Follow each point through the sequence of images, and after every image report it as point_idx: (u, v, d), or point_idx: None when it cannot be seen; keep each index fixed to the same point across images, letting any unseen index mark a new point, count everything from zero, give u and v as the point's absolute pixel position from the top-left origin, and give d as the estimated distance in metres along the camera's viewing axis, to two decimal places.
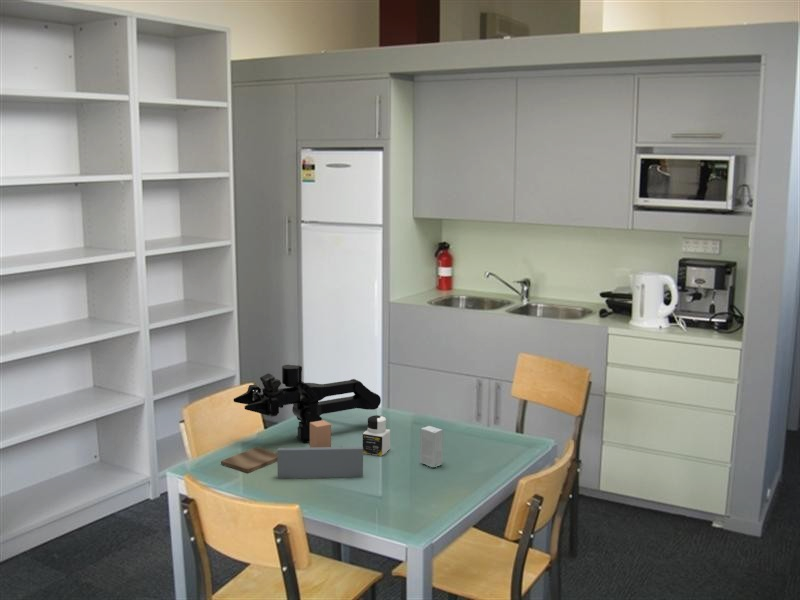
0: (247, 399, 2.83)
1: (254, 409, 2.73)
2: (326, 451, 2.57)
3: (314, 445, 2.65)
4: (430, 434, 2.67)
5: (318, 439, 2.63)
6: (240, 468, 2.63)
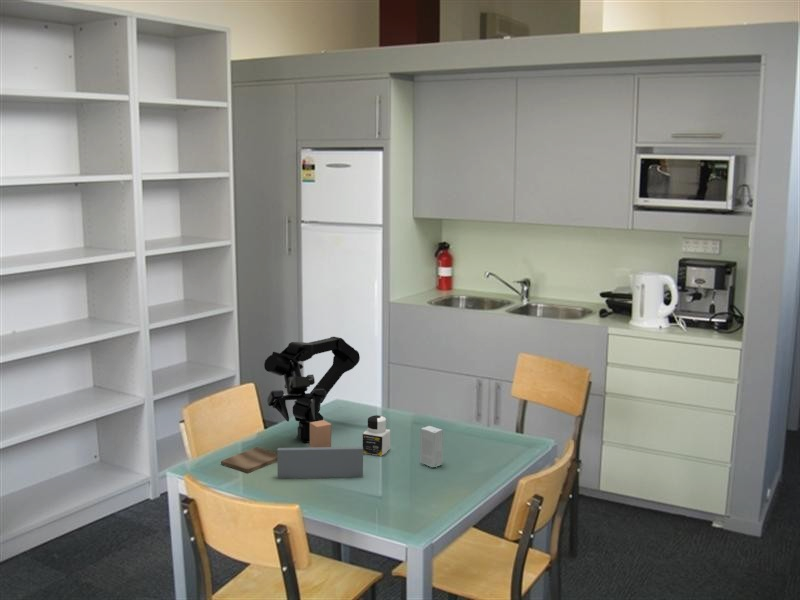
0: None
1: None
2: (326, 451, 2.57)
3: (314, 445, 2.65)
4: (430, 434, 2.67)
5: (318, 439, 2.63)
6: (240, 468, 2.63)
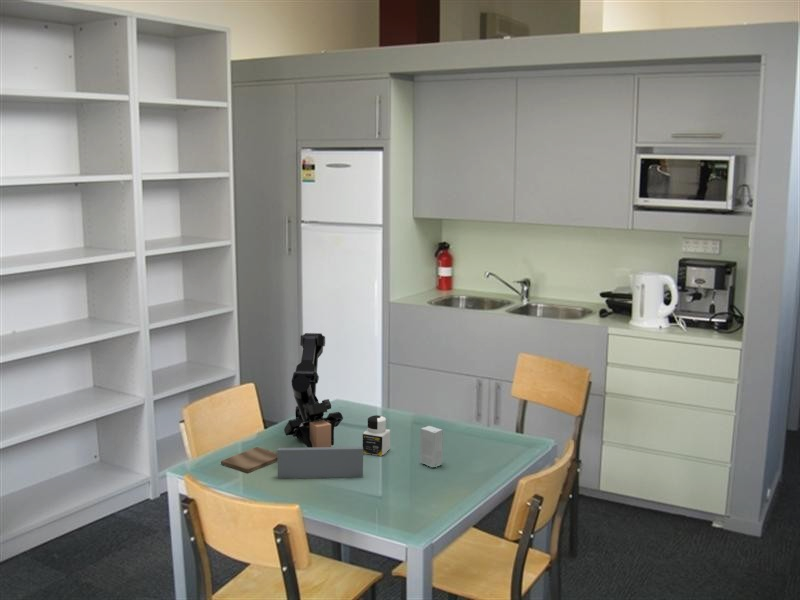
0: None
1: None
2: (326, 451, 2.57)
3: (314, 445, 2.65)
4: (430, 434, 2.67)
5: (318, 439, 2.63)
6: (240, 468, 2.63)
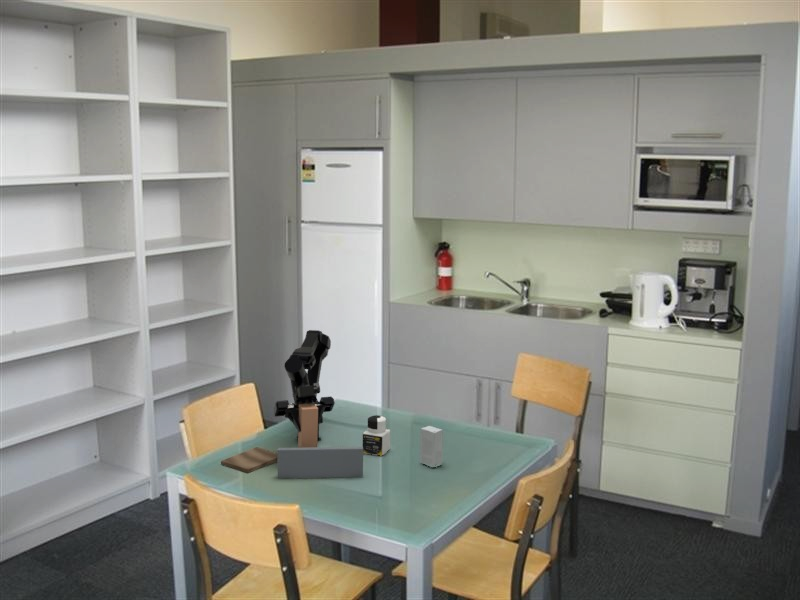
0: None
1: None
2: (326, 451, 2.57)
3: (300, 427, 2.64)
4: (430, 434, 2.67)
5: (304, 421, 2.62)
6: (240, 468, 2.63)
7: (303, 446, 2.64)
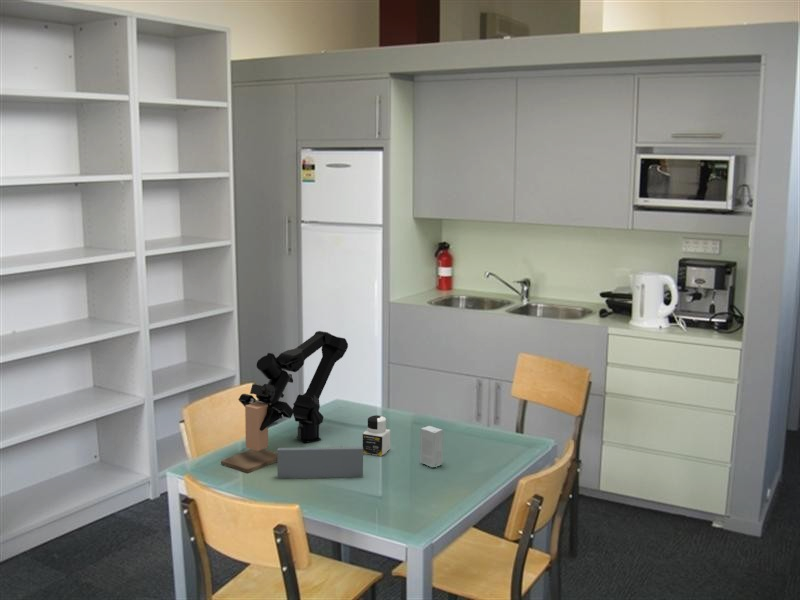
0: None
1: (268, 423, 2.67)
2: (326, 451, 2.57)
3: None
4: (430, 434, 2.67)
5: (246, 418, 2.66)
6: (240, 468, 2.63)
7: (247, 442, 2.68)
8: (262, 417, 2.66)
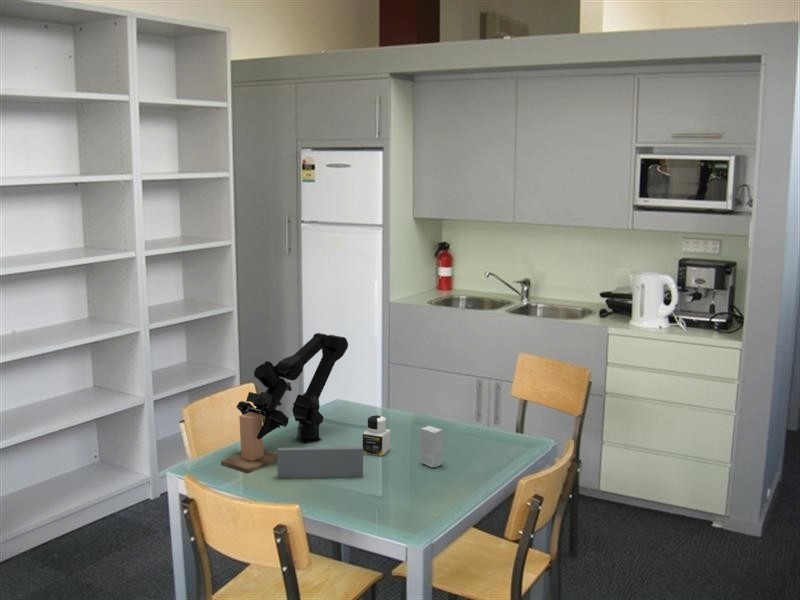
0: None
1: (266, 432, 2.68)
2: (326, 451, 2.57)
3: None
4: (430, 434, 2.67)
5: (241, 428, 2.68)
6: (240, 468, 2.63)
7: (242, 452, 2.70)
8: (256, 427, 2.68)
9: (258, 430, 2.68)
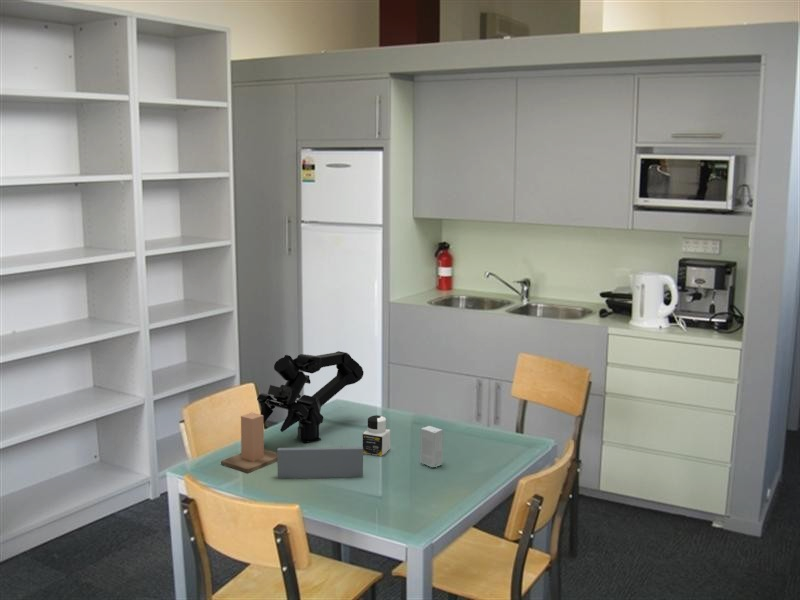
0: (267, 412, 2.81)
1: (289, 425, 2.75)
2: (326, 451, 2.57)
3: None
4: (430, 434, 2.67)
5: (242, 428, 2.68)
6: (240, 468, 2.63)
7: (242, 452, 2.70)
8: (257, 428, 2.67)
9: (259, 431, 2.68)
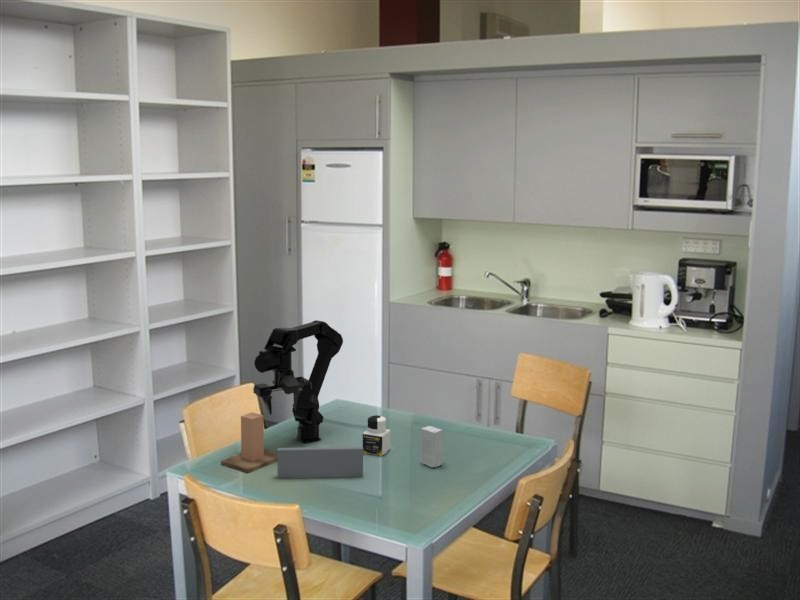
0: None
1: None
2: (326, 451, 2.57)
3: None
4: (430, 434, 2.67)
5: (242, 428, 2.68)
6: (240, 468, 2.63)
7: (242, 452, 2.70)
8: (257, 428, 2.67)
9: (259, 431, 2.68)
